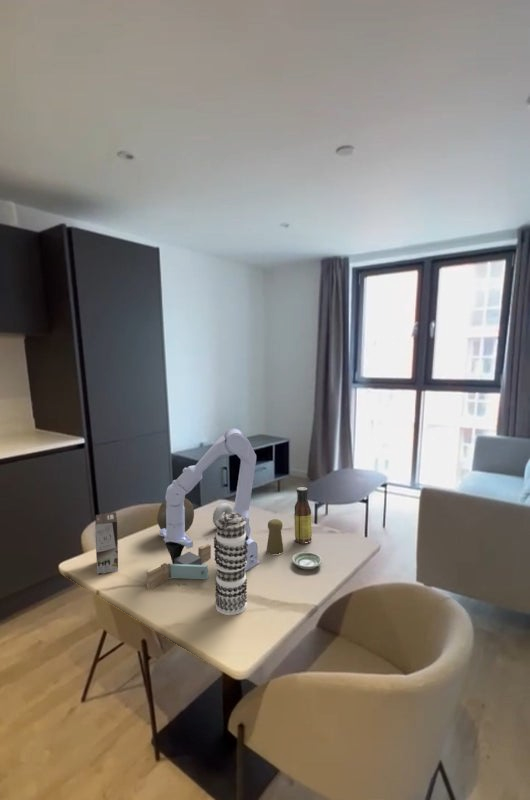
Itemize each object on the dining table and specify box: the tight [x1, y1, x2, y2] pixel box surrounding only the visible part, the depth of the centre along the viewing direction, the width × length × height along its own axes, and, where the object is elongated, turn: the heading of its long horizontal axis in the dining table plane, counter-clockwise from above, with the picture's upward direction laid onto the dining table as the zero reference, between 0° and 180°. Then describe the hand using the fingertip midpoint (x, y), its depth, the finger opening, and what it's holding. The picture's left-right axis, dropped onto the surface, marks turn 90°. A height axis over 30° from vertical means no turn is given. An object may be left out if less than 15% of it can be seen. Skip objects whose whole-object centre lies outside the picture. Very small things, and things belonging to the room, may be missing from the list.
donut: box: [212, 502, 233, 528], centre depth 154 cm, size 10×3×10 cm, turn 141°
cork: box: [266, 518, 284, 555], centre depth 135 cm, size 6×6×11 cm
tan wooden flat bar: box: [146, 543, 212, 590], centre depth 121 cm, size 2×24×5 cm, turn 141°
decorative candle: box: [213, 512, 248, 616], centre depth 103 cm, size 9×9×25 cm
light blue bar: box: [167, 563, 209, 580], centre depth 117 cm, size 2×12×4 cm, turn 87°
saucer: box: [291, 551, 323, 570], centre depth 126 cm, size 10×10×2 cm
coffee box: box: [94, 511, 119, 575], centre depth 124 cm, size 9×6×16 cm
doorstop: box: [174, 551, 203, 565], centre depth 122 cm, size 6×6×4 cm
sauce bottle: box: [293, 486, 313, 544], centre depth 143 cm, size 7×6×20 cm
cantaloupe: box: [156, 497, 195, 533], centre depth 146 cm, size 14×14×15 cm
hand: (175, 563), depth 123 cm, fingers closed
